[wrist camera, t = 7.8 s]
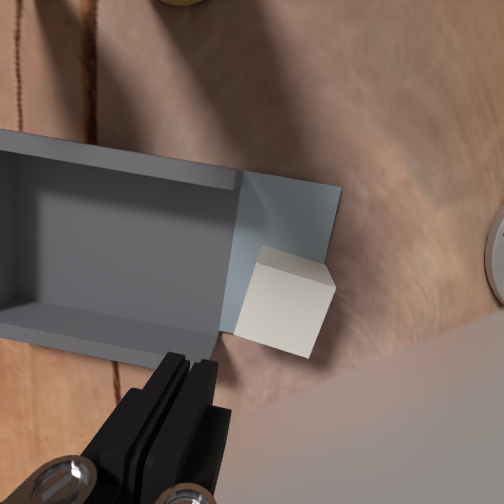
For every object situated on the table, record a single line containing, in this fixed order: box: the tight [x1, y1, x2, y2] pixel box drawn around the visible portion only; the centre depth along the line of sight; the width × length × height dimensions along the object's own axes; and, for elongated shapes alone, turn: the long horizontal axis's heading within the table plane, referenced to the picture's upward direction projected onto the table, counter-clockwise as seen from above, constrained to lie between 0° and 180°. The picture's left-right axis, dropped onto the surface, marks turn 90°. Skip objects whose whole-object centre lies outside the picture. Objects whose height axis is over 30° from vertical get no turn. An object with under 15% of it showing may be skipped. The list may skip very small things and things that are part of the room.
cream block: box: [234, 245, 336, 359], centre depth 23 cm, size 5×5×5 cm
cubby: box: [0, 129, 342, 372], centre depth 24 cm, size 25×14×4 cm, turn 81°
